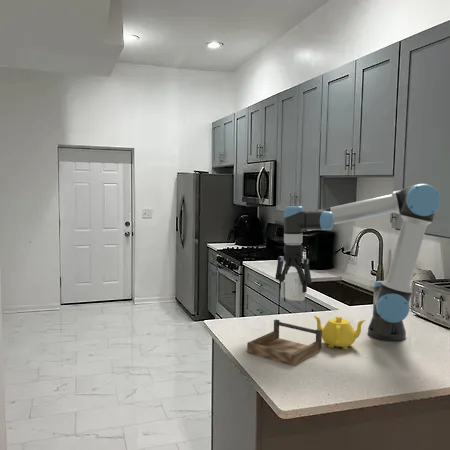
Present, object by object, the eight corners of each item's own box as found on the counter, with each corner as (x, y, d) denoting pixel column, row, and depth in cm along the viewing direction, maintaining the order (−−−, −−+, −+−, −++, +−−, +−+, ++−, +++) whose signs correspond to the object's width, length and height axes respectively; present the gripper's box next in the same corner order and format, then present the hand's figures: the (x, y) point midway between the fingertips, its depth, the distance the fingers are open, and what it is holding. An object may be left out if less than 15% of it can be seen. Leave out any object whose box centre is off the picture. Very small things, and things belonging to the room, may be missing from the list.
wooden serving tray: (321, 350, 175) (321, 329, 174) (294, 366, 159) (295, 343, 158) (275, 339, 188) (276, 319, 187) (246, 352, 172) (247, 331, 171)
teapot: (310, 349, 176) (311, 320, 175) (313, 337, 190) (314, 310, 189) (364, 355, 170) (366, 325, 169) (364, 342, 184) (365, 314, 183)
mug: (304, 303, 182) (304, 277, 181) (283, 302, 184) (283, 277, 183) (305, 296, 194) (305, 272, 193) (285, 295, 196) (285, 271, 195)
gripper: (321, 244, 184) (320, 300, 186) (276, 241, 197) (275, 293, 199) (312, 246, 178) (311, 304, 180) (266, 242, 191) (266, 296, 193)
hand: (292, 298), depth 189 cm, fingers closed on mug, 8 cm apart
